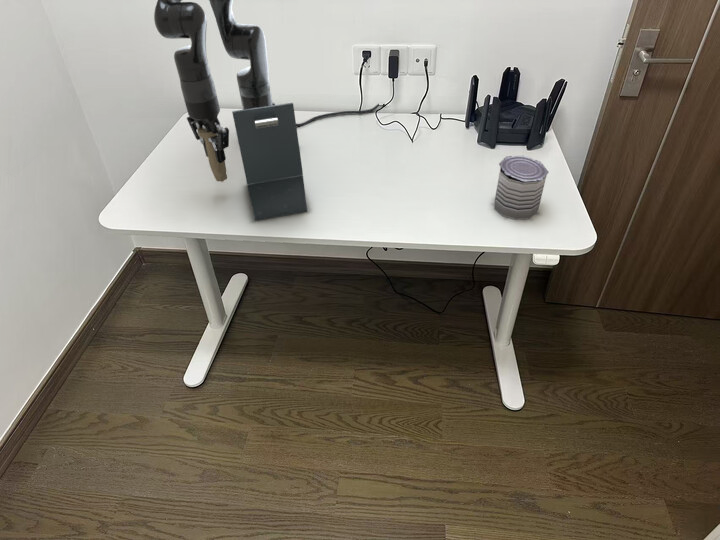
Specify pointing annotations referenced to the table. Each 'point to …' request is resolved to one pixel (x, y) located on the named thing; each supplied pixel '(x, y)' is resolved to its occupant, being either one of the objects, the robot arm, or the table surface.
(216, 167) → the handle
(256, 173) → the bin lid
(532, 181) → the can
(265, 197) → the bin
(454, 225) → the table surface
